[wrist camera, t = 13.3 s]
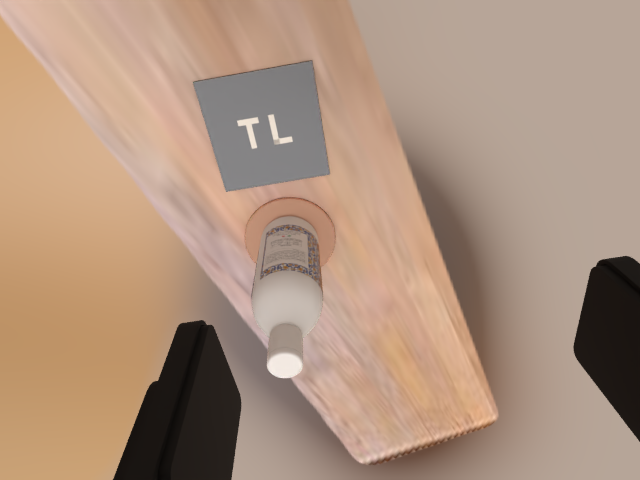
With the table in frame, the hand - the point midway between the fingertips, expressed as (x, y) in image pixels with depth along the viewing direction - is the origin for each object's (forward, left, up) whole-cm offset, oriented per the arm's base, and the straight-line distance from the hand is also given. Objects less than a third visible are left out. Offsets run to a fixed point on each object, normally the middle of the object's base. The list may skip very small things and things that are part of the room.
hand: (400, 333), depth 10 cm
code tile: (+4, -7, -36) cm, 37 cm away
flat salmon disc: (+17, -7, -36) cm, 41 cm away
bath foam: (+17, -7, -36) cm, 40 cm away
